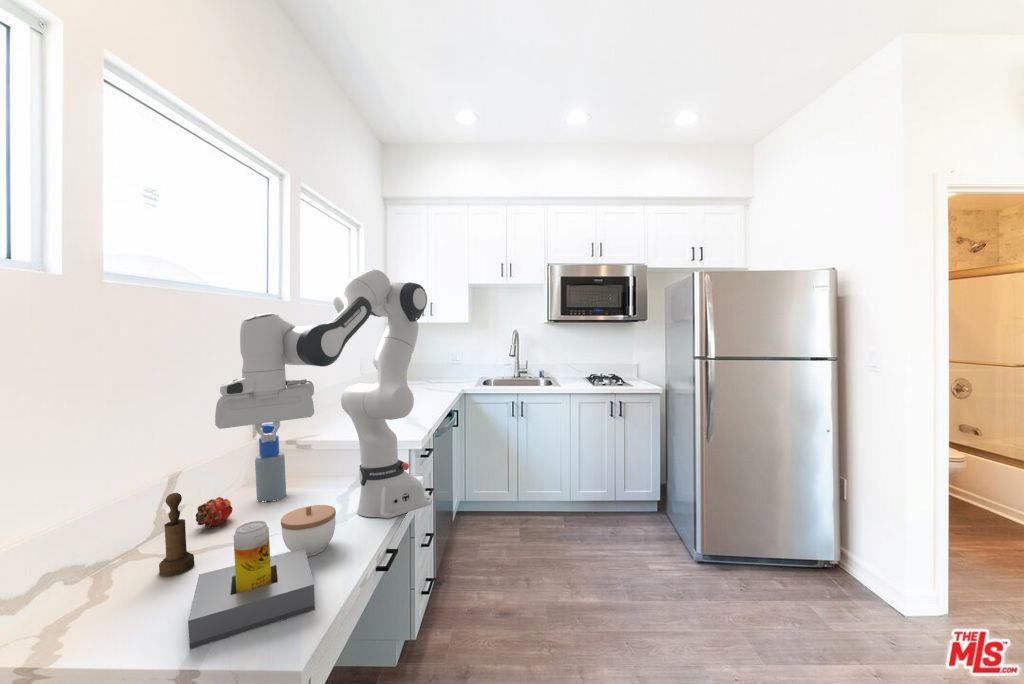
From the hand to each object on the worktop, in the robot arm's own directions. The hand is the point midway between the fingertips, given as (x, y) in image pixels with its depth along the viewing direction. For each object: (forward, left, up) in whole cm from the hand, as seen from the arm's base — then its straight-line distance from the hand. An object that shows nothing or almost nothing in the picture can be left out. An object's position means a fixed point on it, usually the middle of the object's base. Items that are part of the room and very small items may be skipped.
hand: (268, 441), depth 104 cm
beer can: (+4, +16, -29) cm, 33 cm away
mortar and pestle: (+20, -12, -30) cm, 38 cm away
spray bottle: (-1, -54, -30) cm, 62 cm away
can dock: (+4, +15, -30) cm, 33 cm away
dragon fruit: (+14, -38, -30) cm, 50 cm away
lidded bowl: (-8, -4, -30) cm, 31 cm away
